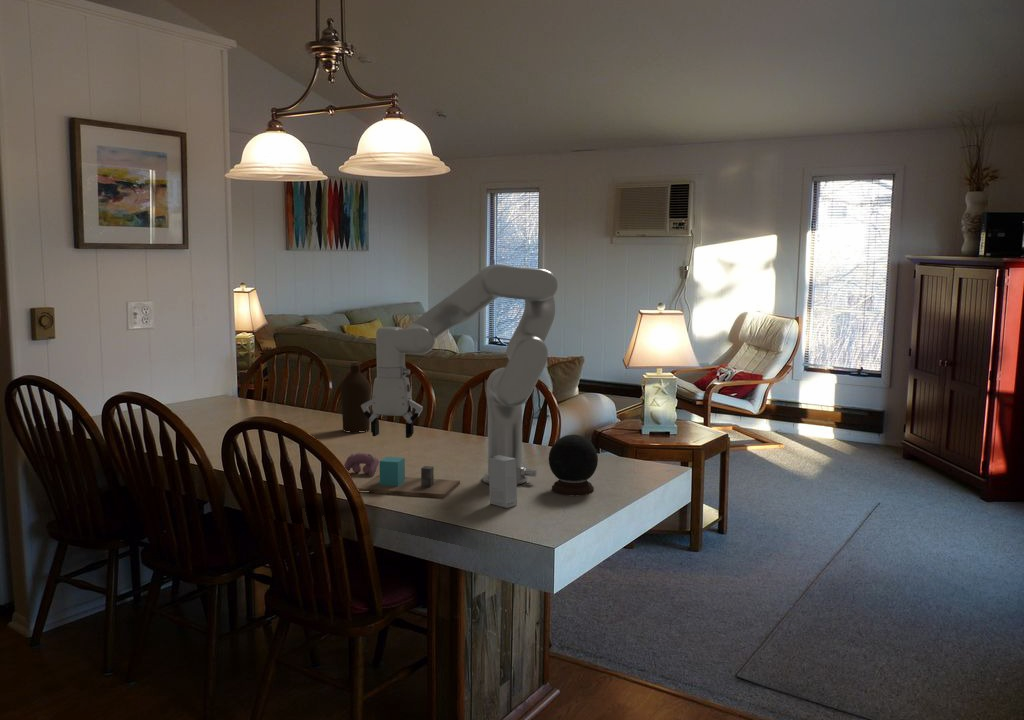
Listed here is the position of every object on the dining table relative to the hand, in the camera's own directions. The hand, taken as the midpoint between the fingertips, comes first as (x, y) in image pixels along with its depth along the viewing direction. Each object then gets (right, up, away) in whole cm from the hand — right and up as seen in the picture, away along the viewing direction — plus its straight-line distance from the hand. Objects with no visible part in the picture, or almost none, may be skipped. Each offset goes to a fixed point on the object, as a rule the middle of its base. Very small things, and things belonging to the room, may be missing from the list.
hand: (392, 436), depth 226 cm
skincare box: (+30, -16, -15) cm, 37 cm away
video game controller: (-11, -12, +16) cm, 23 cm away
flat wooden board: (+5, -14, 0) cm, 15 cm away
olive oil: (-24, -5, +76) cm, 80 cm away
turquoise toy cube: (0, -13, +1) cm, 13 cm away
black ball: (+49, -15, 0) cm, 51 cm away
